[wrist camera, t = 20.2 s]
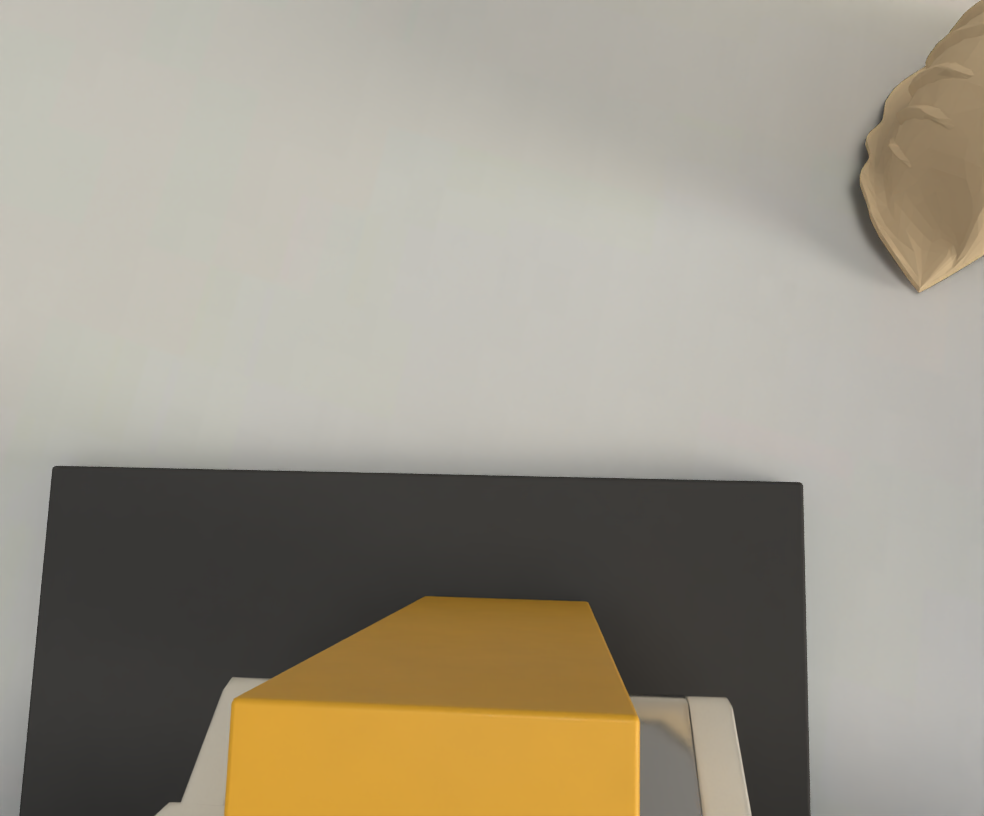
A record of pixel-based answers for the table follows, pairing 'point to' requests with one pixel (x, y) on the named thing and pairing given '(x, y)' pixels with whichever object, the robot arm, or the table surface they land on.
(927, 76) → the decorative ornament
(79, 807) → the mat
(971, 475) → the table surface
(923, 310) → the table surface
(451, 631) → the peg
